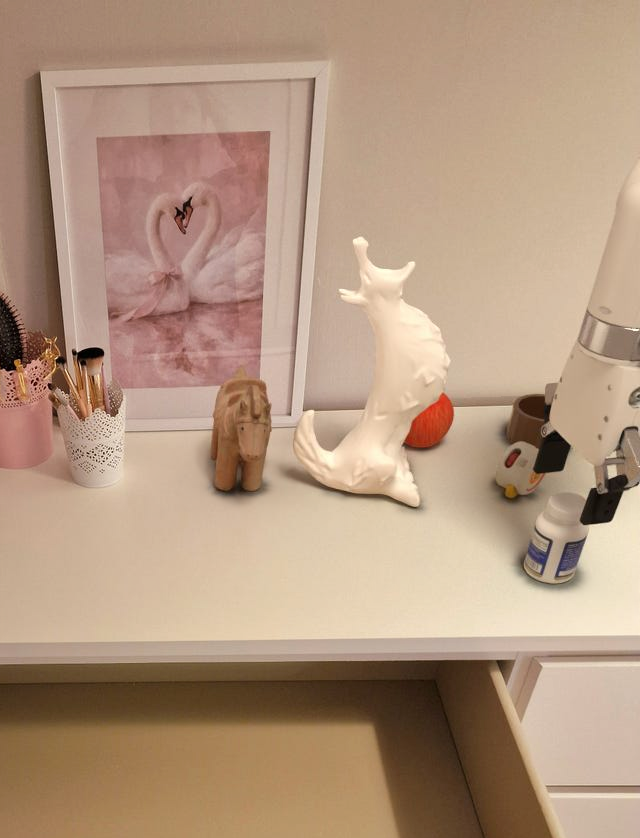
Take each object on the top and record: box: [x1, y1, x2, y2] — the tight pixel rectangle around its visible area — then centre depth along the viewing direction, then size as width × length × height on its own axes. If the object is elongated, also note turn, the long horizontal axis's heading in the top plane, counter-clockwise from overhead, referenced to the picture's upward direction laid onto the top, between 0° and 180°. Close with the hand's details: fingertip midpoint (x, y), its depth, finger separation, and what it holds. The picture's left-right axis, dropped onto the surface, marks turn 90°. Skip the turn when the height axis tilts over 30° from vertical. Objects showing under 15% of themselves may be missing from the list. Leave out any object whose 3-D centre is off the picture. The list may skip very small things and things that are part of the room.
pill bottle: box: [523, 491, 590, 584], centre depth 93 cm, size 5×5×9 cm
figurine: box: [209, 364, 273, 492], centre depth 107 cm, size 7×18×15 cm, turn 3°
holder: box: [505, 393, 546, 449], centre depth 115 cm, size 8×8×4 cm
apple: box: [403, 391, 455, 448], centre depth 115 cm, size 8×8×8 cm
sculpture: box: [292, 236, 452, 508], centre depth 100 cm, size 11×17×30 cm
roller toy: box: [494, 441, 547, 499], centre depth 106 cm, size 4×6×6 cm
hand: (570, 495), depth 89 cm, fingers open, 9 cm apart
